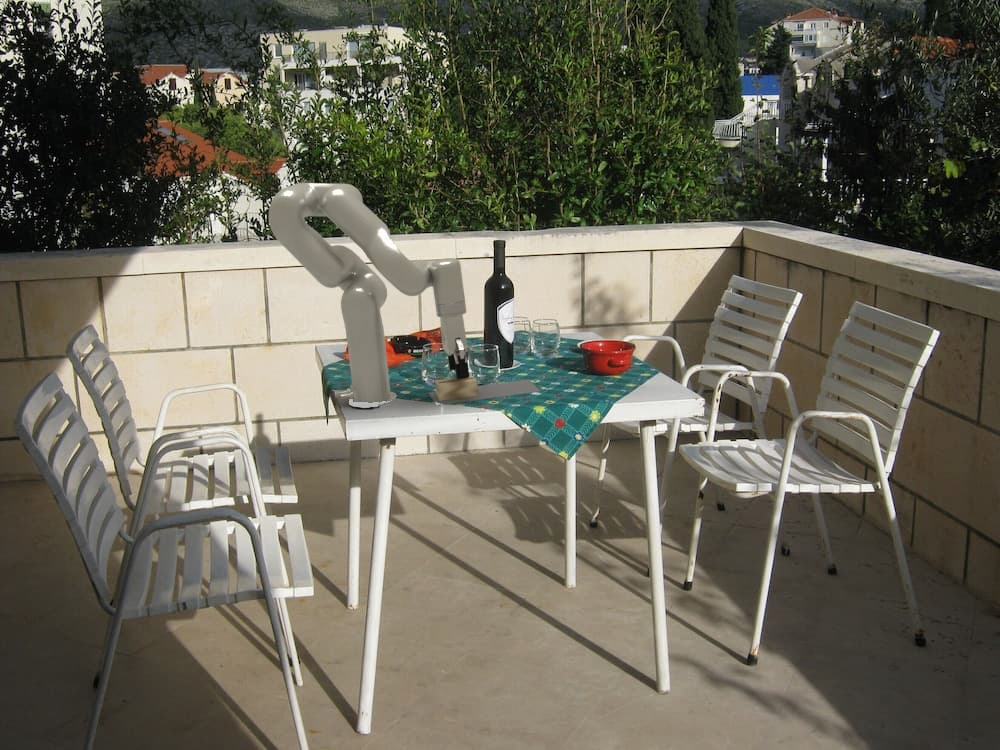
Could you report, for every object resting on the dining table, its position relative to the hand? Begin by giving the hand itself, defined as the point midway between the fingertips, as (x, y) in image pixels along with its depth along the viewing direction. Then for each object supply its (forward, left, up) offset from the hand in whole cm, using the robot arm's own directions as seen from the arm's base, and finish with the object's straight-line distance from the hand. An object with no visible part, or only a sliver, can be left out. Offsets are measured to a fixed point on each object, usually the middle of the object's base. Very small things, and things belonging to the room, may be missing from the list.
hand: (459, 373), depth 273 cm
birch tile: (-1, 0, -6) cm, 6 cm away
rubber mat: (+6, 0, -6) cm, 9 cm away
